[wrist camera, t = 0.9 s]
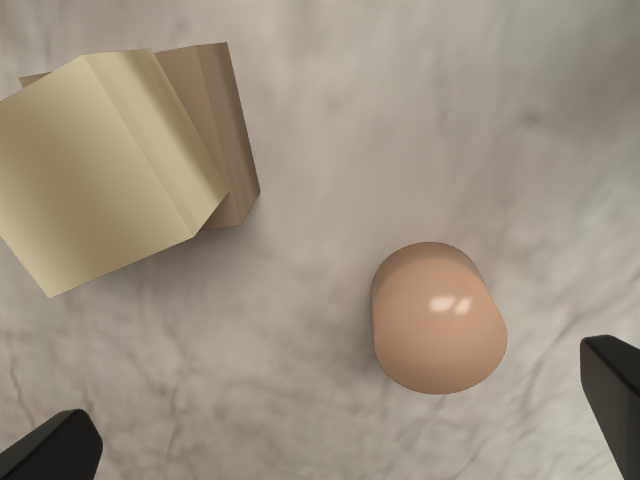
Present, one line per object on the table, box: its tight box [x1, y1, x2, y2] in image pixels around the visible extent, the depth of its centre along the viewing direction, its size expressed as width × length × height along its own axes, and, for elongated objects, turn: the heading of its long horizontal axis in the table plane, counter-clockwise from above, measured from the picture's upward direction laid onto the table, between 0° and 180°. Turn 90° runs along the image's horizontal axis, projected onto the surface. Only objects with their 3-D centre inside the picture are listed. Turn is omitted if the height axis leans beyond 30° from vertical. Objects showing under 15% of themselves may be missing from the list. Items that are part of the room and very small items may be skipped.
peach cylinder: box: [372, 242, 507, 394], centre depth 20 cm, size 5×5×4 cm
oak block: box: [0, 48, 230, 298], centre depth 14 cm, size 5×5×4 cm
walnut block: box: [19, 42, 260, 231], centre depth 18 cm, size 6×6×4 cm
